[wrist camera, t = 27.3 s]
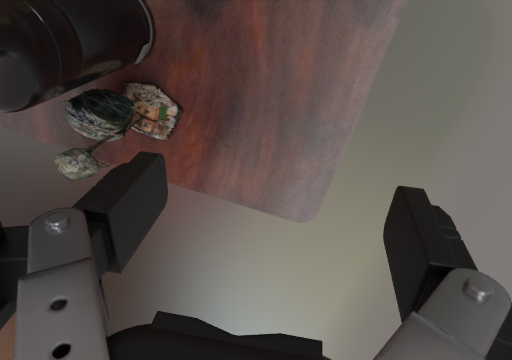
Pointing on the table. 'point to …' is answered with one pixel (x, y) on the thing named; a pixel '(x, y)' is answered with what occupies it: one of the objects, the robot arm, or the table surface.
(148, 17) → the robot arm
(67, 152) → the plant with pod
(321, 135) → the table surface
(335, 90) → the table surface
